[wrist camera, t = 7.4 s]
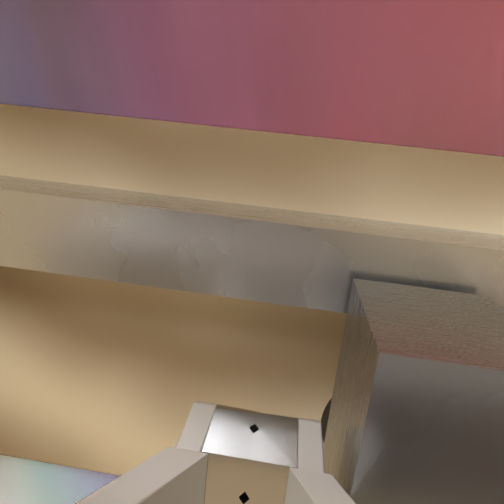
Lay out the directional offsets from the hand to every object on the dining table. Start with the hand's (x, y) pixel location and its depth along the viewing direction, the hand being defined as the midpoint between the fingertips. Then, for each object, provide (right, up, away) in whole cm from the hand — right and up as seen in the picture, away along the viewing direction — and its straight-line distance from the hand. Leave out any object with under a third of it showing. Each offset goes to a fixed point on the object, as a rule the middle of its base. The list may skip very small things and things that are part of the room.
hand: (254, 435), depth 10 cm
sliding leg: (+4, 0, +3) cm, 5 cm away
